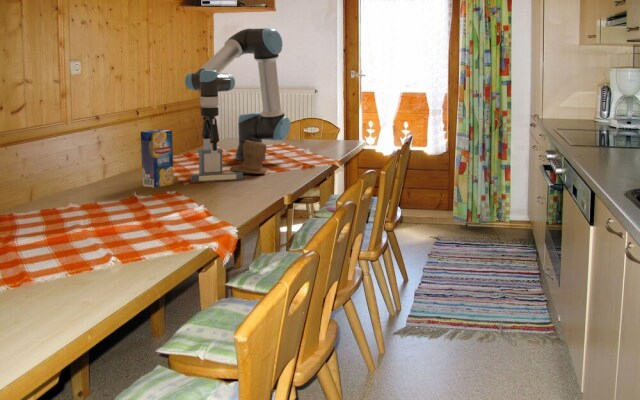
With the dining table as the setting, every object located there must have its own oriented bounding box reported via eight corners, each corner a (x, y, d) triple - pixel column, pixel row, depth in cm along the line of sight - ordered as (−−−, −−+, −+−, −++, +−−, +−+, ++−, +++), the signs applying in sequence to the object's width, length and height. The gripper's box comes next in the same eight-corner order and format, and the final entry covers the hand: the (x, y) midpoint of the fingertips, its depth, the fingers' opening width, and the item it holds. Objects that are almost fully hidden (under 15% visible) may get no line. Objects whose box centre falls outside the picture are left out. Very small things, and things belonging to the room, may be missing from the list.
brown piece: (271, 173, 348) (271, 139, 345) (258, 177, 338) (258, 142, 335) (242, 170, 355) (242, 137, 352) (228, 174, 344) (228, 140, 341)
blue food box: (173, 183, 319) (172, 130, 315) (154, 187, 310) (152, 132, 306) (161, 182, 323) (159, 129, 318) (142, 185, 314) (140, 131, 309)
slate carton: (219, 175, 341) (219, 148, 339) (222, 177, 337) (222, 149, 334) (199, 176, 338) (198, 148, 336) (202, 178, 333) (201, 150, 331)
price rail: (191, 182, 323) (190, 174, 323) (242, 179, 331) (241, 172, 331) (191, 182, 322) (191, 175, 321) (243, 179, 330) (243, 172, 329)
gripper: (194, 104, 341) (195, 152, 346) (207, 109, 319) (208, 160, 323) (211, 104, 344) (212, 151, 348) (225, 108, 321) (226, 159, 326)
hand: (210, 155), depth 336 cm, fingers open, 13 cm apart
